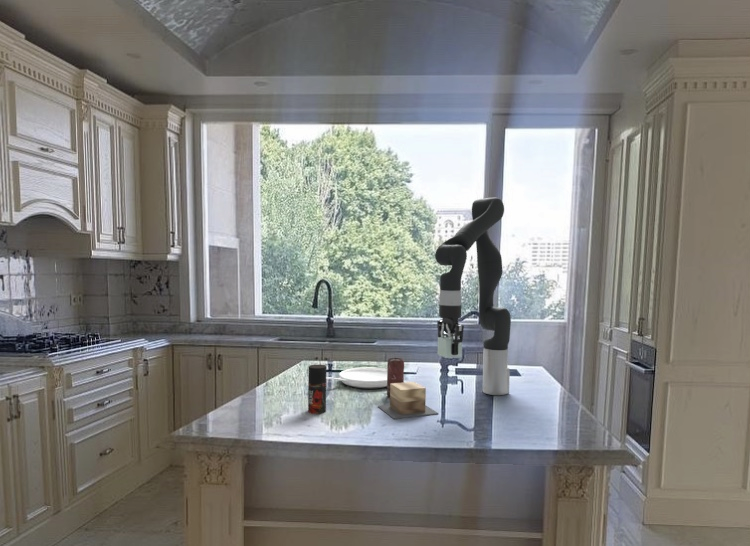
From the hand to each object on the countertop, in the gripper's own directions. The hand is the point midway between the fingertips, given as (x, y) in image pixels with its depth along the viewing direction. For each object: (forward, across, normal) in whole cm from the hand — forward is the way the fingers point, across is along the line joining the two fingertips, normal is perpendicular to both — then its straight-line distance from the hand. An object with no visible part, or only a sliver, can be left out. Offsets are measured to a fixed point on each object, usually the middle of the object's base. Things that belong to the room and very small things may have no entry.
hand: (449, 352), depth 162 cm
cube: (+1, 0, 0) cm, 1 cm away
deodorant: (+20, +13, +43) cm, 49 cm away
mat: (+19, +4, +14) cm, 24 cm away
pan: (+20, +42, +19) cm, 50 cm away
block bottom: (+19, +4, +14) cm, 24 cm away
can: (+20, +21, +11) cm, 31 cm away
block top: (+15, +4, +14) cm, 21 cm away
